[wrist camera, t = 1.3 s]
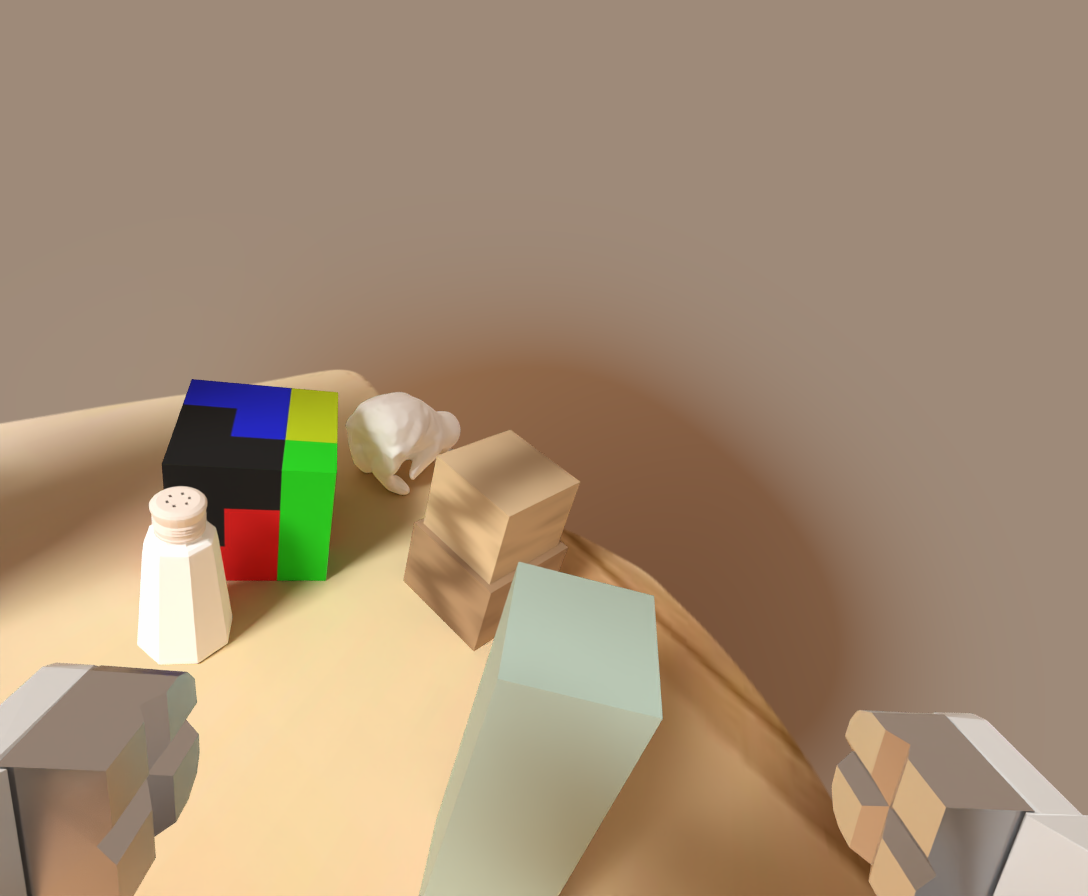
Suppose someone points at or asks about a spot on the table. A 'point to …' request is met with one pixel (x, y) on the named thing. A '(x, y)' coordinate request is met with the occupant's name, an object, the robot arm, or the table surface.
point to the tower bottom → (462, 585)
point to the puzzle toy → (260, 474)
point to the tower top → (499, 503)
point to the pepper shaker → (182, 581)
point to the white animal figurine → (398, 437)
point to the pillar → (547, 736)
